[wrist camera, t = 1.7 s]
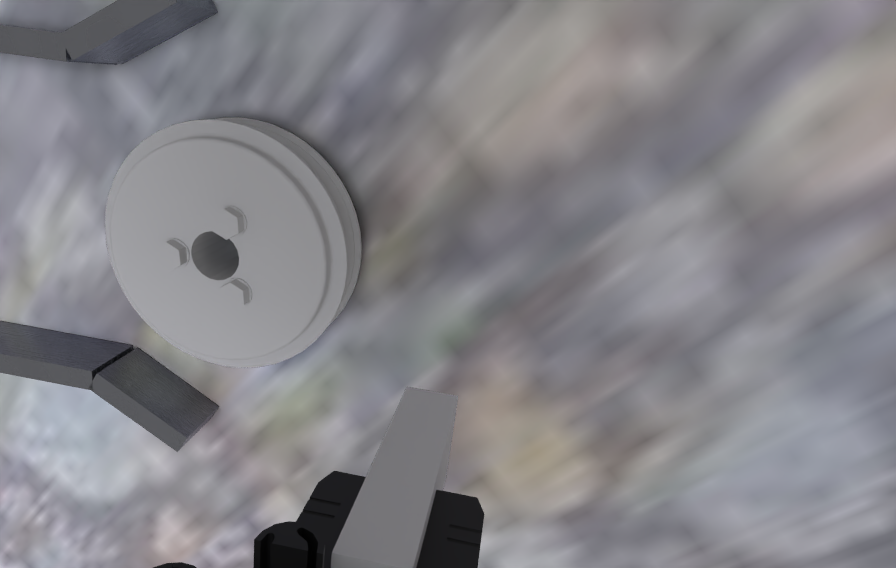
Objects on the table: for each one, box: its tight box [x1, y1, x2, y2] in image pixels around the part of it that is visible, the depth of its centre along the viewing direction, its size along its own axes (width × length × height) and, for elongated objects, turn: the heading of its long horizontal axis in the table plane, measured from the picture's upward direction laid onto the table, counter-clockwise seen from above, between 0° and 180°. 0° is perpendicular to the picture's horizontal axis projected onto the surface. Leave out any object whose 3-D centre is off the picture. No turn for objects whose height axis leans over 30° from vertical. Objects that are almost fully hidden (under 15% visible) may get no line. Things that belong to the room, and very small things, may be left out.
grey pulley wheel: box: [105, 117, 362, 368], centre depth 30 cm, size 13×13×5 cm
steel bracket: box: [0, 0, 219, 452], centre depth 32 cm, size 24×21×4 cm
